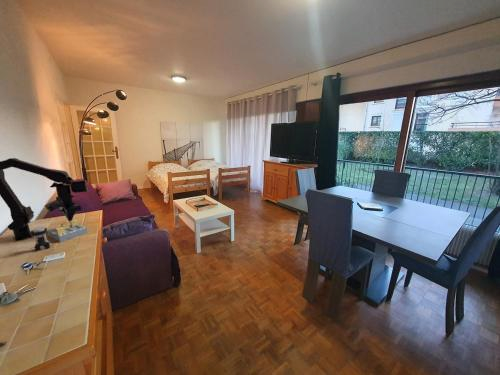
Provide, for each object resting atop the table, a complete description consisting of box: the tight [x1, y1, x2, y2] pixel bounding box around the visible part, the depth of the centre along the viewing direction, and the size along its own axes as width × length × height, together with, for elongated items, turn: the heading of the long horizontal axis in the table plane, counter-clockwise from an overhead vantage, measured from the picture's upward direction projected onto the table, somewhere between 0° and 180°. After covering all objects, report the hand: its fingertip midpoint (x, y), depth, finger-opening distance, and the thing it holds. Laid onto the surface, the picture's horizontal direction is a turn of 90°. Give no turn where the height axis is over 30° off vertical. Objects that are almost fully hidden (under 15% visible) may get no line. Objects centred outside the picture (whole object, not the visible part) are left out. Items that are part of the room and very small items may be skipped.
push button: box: [30, 226, 51, 252], centre depth 95 cm, size 7×5×10 cm
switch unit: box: [47, 224, 88, 243], centre depth 111 cm, size 14×12×3 cm
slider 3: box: [69, 219, 80, 227], centre depth 115 cm, size 2×3×3 cm
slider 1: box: [54, 226, 65, 235], centre depth 105 cm, size 2×3×3 cm
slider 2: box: [60, 221, 70, 229], centre depth 111 cm, size 2×3×3 cm
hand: (70, 221), depth 117 cm, fingers closed
